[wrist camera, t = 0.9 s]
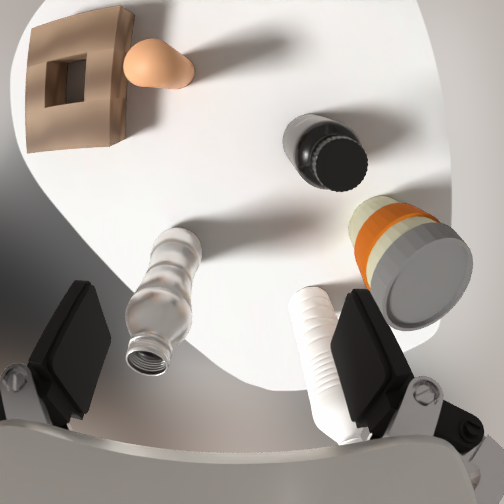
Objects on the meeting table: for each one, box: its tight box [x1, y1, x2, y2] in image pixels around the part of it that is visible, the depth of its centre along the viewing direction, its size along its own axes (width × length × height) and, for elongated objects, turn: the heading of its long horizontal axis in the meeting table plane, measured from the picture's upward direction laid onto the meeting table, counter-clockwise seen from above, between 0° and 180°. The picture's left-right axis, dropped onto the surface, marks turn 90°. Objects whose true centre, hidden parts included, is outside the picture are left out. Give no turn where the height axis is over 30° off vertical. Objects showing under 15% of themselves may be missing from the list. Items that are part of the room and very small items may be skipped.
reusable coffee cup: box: [349, 196, 473, 331], centre depth 32 cm, size 13×13×15 cm
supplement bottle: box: [283, 114, 368, 192], centre depth 28 cm, size 7×7×12 cm
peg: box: [123, 39, 195, 89], centre depth 22 cm, size 4×4×12 cm
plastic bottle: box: [126, 228, 202, 376], centre depth 30 cm, size 6×7×20 cm
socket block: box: [25, 5, 135, 153], centre depth 24 cm, size 16×12×5 cm
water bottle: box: [289, 287, 363, 445], centre depth 35 cm, size 9×6×25 cm
